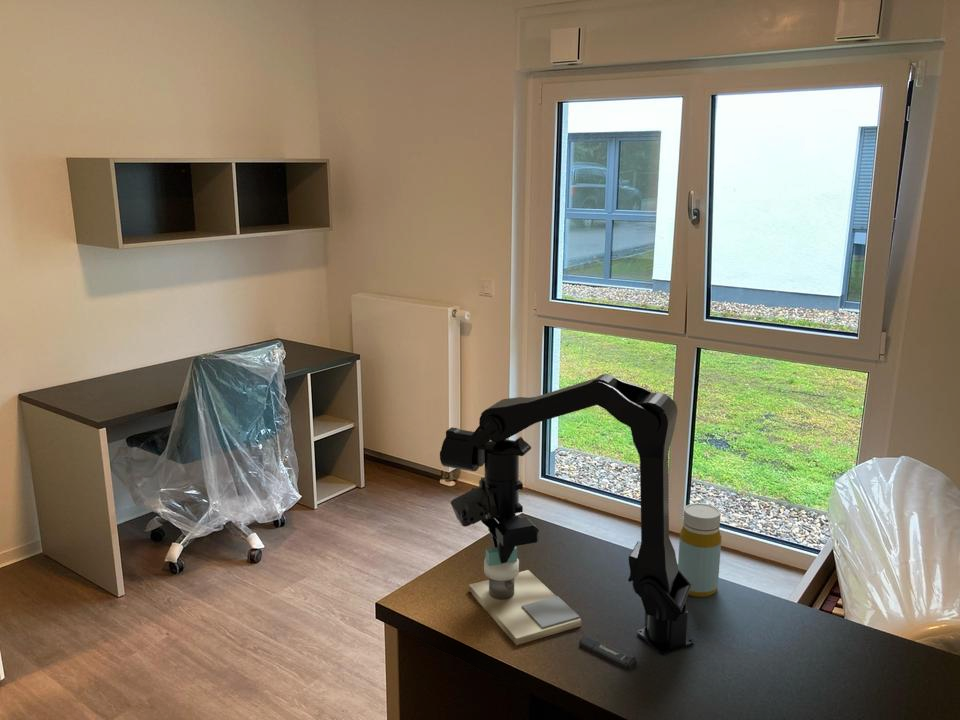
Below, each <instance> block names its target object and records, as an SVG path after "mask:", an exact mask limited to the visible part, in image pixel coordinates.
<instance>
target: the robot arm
mask: <svg viewBox="0 0 960 720" xmlns="http://www.w3.org/2000/svg"><path fill="white" fill-rule="evenodd" d="M595 406H598V407H601V408H602V409H604V410H605V411H606V412H607V413H609V414H610V415H611V416H612V417H613V418H614V419H616V420H617V421H618V422H620V423H622V424H623V425H625V426H627V427H629V428H630V431H631V436H632V437H631V438H632V442H633V444H634V447H635V449H636V452H637V453H638V457H639V477H640V478H639V480H640V481H639V483H640V484H639V486H640V487H639V488H640V538H641V539H640V541H639V540H638V541H637V542H636V544H635V545H634V547H633V549H632V551H631V552H630V554H629V555H628V565H629V570H630V571H629V572H630V573H629V578H628V580H627V581H628V582H629V583H631V582H632V583H631V585H632V589H633V591H634V594H636V595H638V596H639V598H640V599H641V603H642V605H643V608H644V628H641V629H638V630H637V632H636V634H637V635H638V636H639V637H640V638H641V639H642V640H643V641H645V642H646V643H647V644H648V645H649V646H650V647H651V648H653V650H655V651H656V652H658V653H659V654H660V655H666V654H669V653H672V652H675V651H679V650H681V649H684V648H687V647H691V646H694V644H695V643H694V642H695V641H694V640H693V639H692V638H691V637H690V636H689V635H687V633H688V632H687V631H688V618H689V615H688V614H689V611H688V610H687V606H686V604H685V603H686V601H687V598H688V596H689V595H688V593H689V591H690V588H691V584H690V582H689V581H688V580H687V579H686V578H685V577H684V576H683V574H682V573H681V572H680V571H679V570H678V560H677V556H676V551H675V548H674V546H673V543H672V542H671V539H670V513H669V512H670V505H669V504H670V503H669V502H670V501H669V500H670V499H669V498H670V496H669V487H670V485H669V480H670V479H669V453H670V452H669V451H670V447H671V444H672V440H673V436H674V433H675V429H676V428H675V427H676V423H677V416H678V407H677V402H675V400H673V399H672V397H670V396H669V395H667V394H665V393H663V392H659V391H658V392H657V391H656V392H654V391H651V390H649V389H647V388H645V387H643V386H640V385H637V384H633V383H631V382H627V381H624V380H621V379H619V378H617V377H616V376H614V375H611V374H608V373H605V374H604V373H602V374H600V375H598V376H597V377H595V378H592V379H589V380H585V381H582V382H579V383H576V384H573V385H570V386H566V387H562V388H560V389H556V390H553V391H550V392H546V393H544V394H541V395H537V396H531V397H525V396H524V397H523V396H520V397H519V396H518V397H517V396H516V397H510V398H503V399H502V398H501V399H500V400H499V401H496V403H494V404H492V405H491V406H489V407H488V408H486V409H484V410H483V411H482V412H481V414H480V417H479V423H478V424H479V425H478V427H477V428H476V429H475V430H474V431H472V430H465V429H460V428H458V427H450V428H449V429H447V430H446V431H445V438H444V439H443V441H442V445H441V447H440V448H441V449H440V451H439V460H440V464H441V465H442V466H443V467H445V468H446V467H447V468H451V469H456V470H457V469H458V470H465V471H469V472H477V471H478V470H479V468H480V467H483V466H484V477H480V480H479V482H478V483H479V485H478V487H476V486H475V487H472V489H470V491H467V492H465V493H463V494H461V495H458V496H457V497H455V498H453V499H452V500H451V501H450V505H451V508H452V510H453V512H454V515H455V517H456V520H458V521H459V523H460V525H461V526H462V527H469V526H471V525H475V524H477V523H479V522H482V524H483V525H485V526H486V527H487V528H488V531H489V535H490V539H491V542H492V546H493V548H494V547H498V552H499V557H500V562H501V563H506V562H507V561H508V559H509V557H510V555H511V554H512V552H513V550H514V548H515V546H516V547H518V546H525V545H529V544H535V543H538V542H539V541H540V530H539V528H538V527H537V526H536V525H535V524H534V523H533V521H531V520H530V519H529V518H528V517H527V516H523V517H521V516H520V515H517V514H518V513H519V514H520V513H523V512H524V509H523V505H522V504H521V503H520V502H519V495H520V494H519V490H520V491H521V490H523V488H524V487H523V486H524V484H523V482H522V481H520V479H519V477H520V475H519V473H520V472H519V470H520V469H519V468H520V467H519V465H520V464H519V463H520V461H519V459H520V457H524V456H525V455H527V454H528V453H529V451H530V450H532V446H531V445H530V444H529V443H528V442H526V440H524V438H523V437H522V436H519V437H518V438H516V440H511V439H509V438H511V437H513V436H515V435H517V434H518V433H520V432H522V431H523V430H526V429H527V428H529V427H531V426H533V425H535V424H536V423H541V422H545V421H547V420H551V419H554V418H557V417H561V416H565V415H568V414H571V413H575V412H579V411H581V410H585V409H588V408H591V407H595Z"/></svg>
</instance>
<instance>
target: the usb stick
mask: <svg viewBox="0 0 960 720" xmlns="http://www.w3.org/2000/svg"><path fill="white" fill-rule="evenodd" d="M578 645H579V647H580V648H582V649H584V650H585V651H588V652H591V653H592V654H593V655H596V656H598V657H600V658H602V659H604V660H607V661H609V662H610V663H612V664H614V665H616V666H618V667H621V668H623V669H625V670H630V671H631V670H632V669H634V668H635V667H636V666H637V664H638V663H637V661H638V660H637V659H636V657H635V656H632V655H630V654H629V653H626V652H624V651H622V650H619V649H617V648H615V647H613V646H612V645H609V644H607V643H604V642H602V641H600V640H598V639H596V638H593V637H592V636H590V635H588V634H587V635H584V636H583V637H582V638H581V639H580V640H579V643H578Z"/></svg>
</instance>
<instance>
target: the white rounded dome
mask: <svg viewBox="0 0 960 720" xmlns="http://www.w3.org/2000/svg"><path fill="white" fill-rule="evenodd" d="M519 565H520V559H519V558H518V546H515V548H514V550H513V552H512V554H511V555H510V557H509V559H508V561H507V562H506V563H501V562H500V557H499V552H498V547H494V546H493V547H488V548H485V558H484V561H483V570H484V571H483V572H484V573H483V574H484V576H486V577H487V578H488V579H489V578H490V579H493V580H498V581H506V580H510V579H513V578H515V577H516V576H517V575H518V574H519V572H520V566H519Z"/></svg>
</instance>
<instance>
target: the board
mask: <svg viewBox="0 0 960 720" xmlns="http://www.w3.org/2000/svg"><path fill="white" fill-rule="evenodd" d="M468 592H469V593H470V592H471V593H472V594H471V593H470V594H471V595H472V596H473V598H474V599H476V601H477V602H478V604H480V605H481V606H482V608H483V609H484V610H485V611H486V613H488V614H489V616H490V617H491V618H492V619H493V620H494V621H495V622H496V624H497V625H498V626H499V627H500V628H501V630H502V631H503V632H504V633H505V634H506V635H507V637H509V638H510V640H511V641H512V642H513V643H514V644H515V645H516V646H519V645H521V644H525V643H528V642H532V641H535V640H539V639H542V638H545V637H549V636H551V635H555V634H559V633H562V632H566V631H568V630H572V629H575V628H579V627H581V626H582V619H581V617H580V616H579V614H578V613H577V612H575V610H574V609H572V608H571V607H570V606H569V605H568V604H567V603H566V602H565V601H564V600H563V599H561V598H560V597H559V596H558V595H556V594H555V593H553V591H552V590H550V589H549V588H548V587H547V586H546V585H545V584H544V583H543V582H542V581H541V580H540V579H538V578H537V576H535V574H533V573H532V572H531V571H530V570H529V569H526V570H523V571H519V574H518V575H517V576H516V577H515V578H513V579H510V580H506V581H498V580H493V579H490V578H488V579H487V580H482V581H479V582H475V583H470V584H468Z"/></svg>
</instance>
